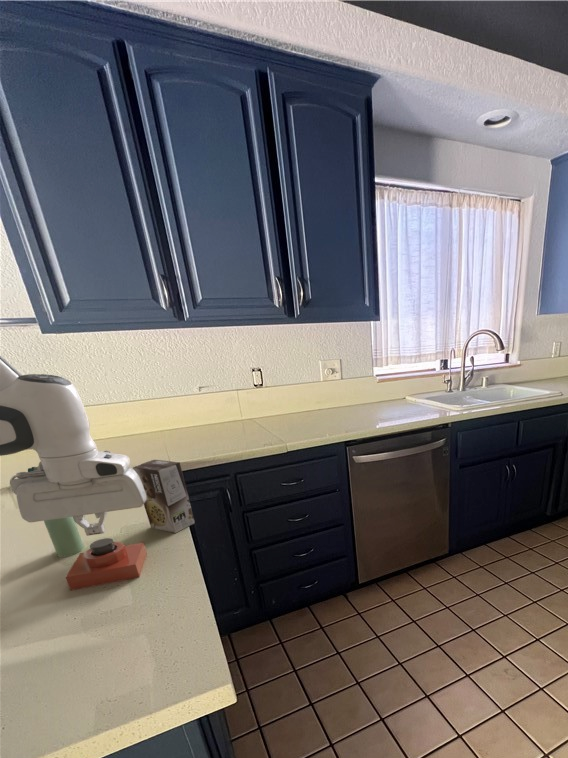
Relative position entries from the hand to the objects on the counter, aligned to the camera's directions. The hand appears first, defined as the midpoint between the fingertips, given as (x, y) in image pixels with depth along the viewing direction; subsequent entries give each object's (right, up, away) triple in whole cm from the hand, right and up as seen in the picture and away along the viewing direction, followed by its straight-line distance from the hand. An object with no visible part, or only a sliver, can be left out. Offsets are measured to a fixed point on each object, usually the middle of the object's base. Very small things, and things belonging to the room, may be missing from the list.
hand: (96, 533), depth 84 cm
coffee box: (+4, +1, +23) cm, 23 cm away
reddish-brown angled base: (+1, -8, +4) cm, 9 cm away
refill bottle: (-14, -5, +13) cm, 20 cm away
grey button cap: (0, -4, +2) cm, 4 cm away
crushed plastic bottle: (-50, +17, +64) cm, 83 cm away
